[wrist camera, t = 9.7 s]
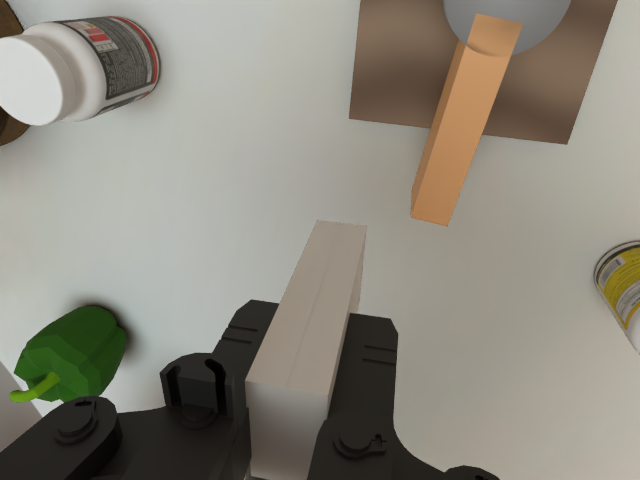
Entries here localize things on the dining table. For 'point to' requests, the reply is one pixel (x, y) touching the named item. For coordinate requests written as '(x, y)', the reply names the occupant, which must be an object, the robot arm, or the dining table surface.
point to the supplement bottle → (622, 288)
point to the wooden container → (3, 125)
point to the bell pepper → (71, 357)
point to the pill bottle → (75, 69)
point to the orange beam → (474, 91)
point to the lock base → (435, 60)
